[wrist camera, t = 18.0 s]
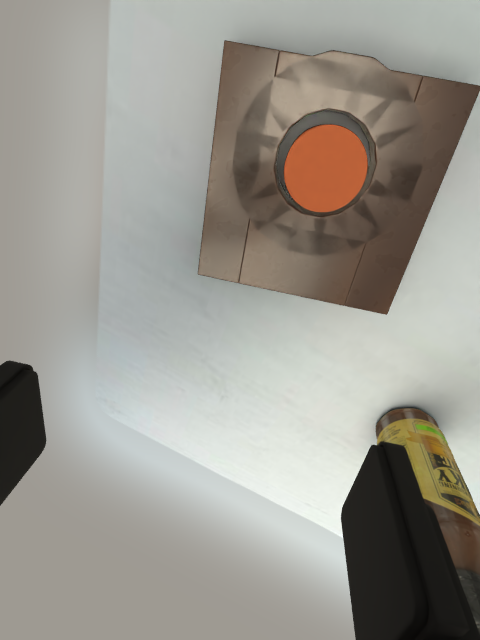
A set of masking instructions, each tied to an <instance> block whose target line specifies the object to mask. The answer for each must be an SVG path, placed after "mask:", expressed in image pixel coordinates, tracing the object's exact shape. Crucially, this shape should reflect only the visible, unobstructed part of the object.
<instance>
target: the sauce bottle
mask: <svg viewBox="0 0 480 640" xmlns="http://www.w3.org/2000/svg"><path fill="white" fill-rule="evenodd" d="M376 436H377V445H378V443H379V442H380V441H385V442H389V443H394V444H399V445H403V446H404V447H405V448H406V450H407V453H408V456H409V459H410V462H411V464H412V467H413V470H414V473H415V476H416V479H417V481H418V484H419V487H420V490H421V493H422V496H423V499H424V501H425V503H426V504H429V505H430V506H431V507H432V509H433V510H434V512H435V514H436V517H437V520H438V522H439V525H440V528H441V530H442V533H443V536H444V539H445V541H446V544H447V547H448V549H449V552H450V555H451V557H452V560H453V563H454V566H455V568H456V571H457V574H458V576H459V579H460V582H461V585H462V587H463V590H464V593H465V595H466V598H467V601H468V603H469V606H470V609H471V612H472V614H473V617H474V620H475V622H476V625H477V628H478V631H479V633H480V515H479V513H478V511H477V508H476V506H475V504H474V502H473V499H472V497H471V494H470V492H469V490H468V487H467V485H466V483H465V481H464V479H463V477H462V475H461V472H460V470H459V468H458V466H457V464H456V462H455V459H454V457H453V454H452V452H451V450H450V448H449V446H448V444H447V441H446V439H445V437H444V435H443V433H442V431H441V430H440V429H439V427H438V425H437V423H436V421H435V420H434V419H433V418H432V417H430V416H429V415H428V414H426V413H424V412H423V411H421V410H419V409H414V408H402V409H395V410H392V411H390V412H388V413H387V414H385V415H384V416H383V417H382V418H381V419H380V421H378V423H377V425H376Z"/></svg>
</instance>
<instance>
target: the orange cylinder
mask: <svg viewBox="0 0 480 640" xmlns="http://www.w3.org/2000/svg"><path fill="white" fill-rule="evenodd" d="M367 168H368V160H367V154H366V151H365V148H364V146H363V144H362V142H361V141H360V139H359V138H358V137H357V136H356V135H355V134H354V133H353V132H352V131H350V130H349V129H347V128H345V127H342V126H338V125H332V124H330V125H318V126H314V127H312V128H310V129H308V130H306V131H304V132H303V133H302V134H301V135H300V136H299V137H298V138H297V139H296V140H295V142H294V143H293V145H292V146H291V148H290V150H289V152H288V155H287V157H286V161H285V166H284V179H285V184H286V187H287V190H288V192H289V194H290V195H291V197H292V198H293V199H294V200H295V201H296V202H297V203H298V204H299V205H300V206H302V207H304V208H305V209H308V210H310V211H314V212H330V211H334V210H337V209H339V208H341V207H343V206H345V205H346V204H348V203H349V202H350V201H351V200H352V199H354V197H355V196H356V195H357V194H358V192H359V191H360V190H361V188H362V186H363V184H364V181H365V179H366V175H367Z"/></svg>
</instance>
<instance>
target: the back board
mask: <svg viewBox="0 0 480 640" xmlns="http://www.w3.org/2000/svg"><path fill="white" fill-rule="evenodd" d="M479 91H480V86H478V85H473V84H467V83H461V82H456V81H450V80H445V79H439V78H433V77H428V76H422V75H416V74H411V73H405V72H400V71H394V70H389V69H388V68H387V67H385V66H384V65H383V64H382V63H380V62H379V61H378V60H377V59H375V58H373V57H369V56H363V55H358V54H352V53H346V52H341V51H335V50H331V51H327V52H324V53H321V54H317V55H314V56H310V55H304V54H298V53H293V52H287V51H282V50H280V51H279V50H276V49H270V48H265V47H259V46H254V45H248V44H242V43H237V42H231V41H224V49H223V58H222V67H221V75H220V84H219V93H218V102H217V110H216V119H215V128H214V137H213V145H212V154H211V163H210V171H209V180H208V189H207V198H206V206H205V215H204V224H203V233H202V241H201V250H200V259H199V268H198V275H203V276H208V277H212V278H217V279H222V280H227V281H231V282H236V283H240V284H245V285H250V286H254V287H259V288H264V289H269V290H273V291H278V292H283V293H287V294H292V295H297V296H301V297H306V298H311V299H315V300H320V301H325V302H329V303H334V304H339V305H343V306H344V305H345V306H348V307H353V308H358V309H362V310H367V311H372V312H377V313H381V314H386V315H387V313H388V311H389V308H390V306H391V304H392V301H393V299H394V296H395V294H396V292H397V289H398V287H399V284H400V282H401V280H402V277H403V275H404V272H405V270H406V267H407V265H408V263H409V260H410V258H411V255H412V253H413V251H414V248H415V246H416V243H417V241H418V238H419V236H420V234H421V231H422V229H423V226H424V224H425V222H426V219H427V217H428V214H429V212H430V209H431V207H432V205H433V202H434V200H435V197H436V195H437V193H438V190H439V188H440V185H441V183H442V180H443V178H444V176H445V173H446V171H447V168H448V166H449V164H450V161H451V159H452V156H453V154H454V151H455V149H456V147H457V144H458V142H459V139H460V137H461V135H462V132H463V130H464V127H465V125H466V123H467V120H468V118H469V115H470V113H471V110H472V108H473V106H474V103H475V101H476V98H477V96H478V94H479ZM325 110H328V111H333V112H338V113H344V114H346V115H347V116H349V117H350V118H351V119H353V120H354V121H355V122H357V123H358V124H359V125H360V126H361V128H362V130H363V132H364V134H365V136H366V138H367V140H368V142H369V151H370V164H369V168H368V171H367V175H366V179H365V181H364V184H363V186H362V188H361V190H360V191H359V192H358V194H357V195H356V196H355V197H354V199H352V200H351V201H350V202H349V203H348V204H346V205H345V206H343V207H341V208H339V209H337V210H334V211H330V212H314V211H310V210H308V209H305V208H304V207H302V206H300V205H299V204H297V203H296V202H295V201H293V200H292V199H290V198H289V197H288V196H287V194H286V192H285V191H284V189H283V187H282V186H281V184H280V183H279V177H278V172H277V166H276V163H277V158H278V153H279V148H280V144H281V143H282V141H283V139H284V138H285V136H286V134H287V133H288V131H289V129H290V128H291V127H292V126H293V125H295V124H296V123H297V122H299V121H300V120H301V119H302V118H304V117H305V116H306V115H309V114H313V113H317V112H321V111H325Z"/></svg>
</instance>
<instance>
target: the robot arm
mask: <svg viewBox="0 0 480 640" xmlns="http://www.w3.org/2000/svg"><path fill="white" fill-rule="evenodd" d="M40 397H41V396H40V389H39V382H38V375H37V373H36V372H34V371H33V368H32V366H30V365H28V364H23V363H18V362H14V361H6V362H5V363H3V364H2V365H0V505H1V504H2V503H3V501H4V500H5V499H6V498H7V496H8V495H9V494H10V493H11V491H12V490H13V489H14V487H15V486H16V485H17V484H18V482H19V481H20V480H21V479H22V477H23V476H24V474H25V473H26V472H27V471H28V470H29V468H30V467H31V466H32V465H33V463H34V462H35V461H36V459H37V458H38V457H39V456H40V454H41V453H42V451H43V450H44V448H45V444H46V434H45V427H44V419H43V412H42V404H41V398H40ZM341 522H342V530H343V539H344V547H345V555H346V563H347V571H348V580H349V587H350V596H351V604H352V612H353V621H354V629H355V637H356V640H480V633H479V631H478V628H477V625H476V622H475V620H474V617H473V614H472V612H471V609H470V606H469V603H468V601H467V598H466V595H465V593H464V590H463V587H462V585H461V582H460V579H459V576H458V574H457V571H456V568H455V566H454V563H453V560H452V557H451V555H450V552H449V549H448V547H447V544H446V541H445V539H444V536H443V533H442V530H441V528H440V525H439V522H438V520H437V517H436V514H435V512H434V510H433V509H432V507H431V506H430V505H429V504H426V503H425V501H424V499H423V496H422V493H421V490H420V487H419V484H418V481H417V479H416V476H415V473H414V470H413V467H412V464H411V462H410V459H409V456H408V453H407V450H406V448H405V447H404V446H403V445H399V444H394V443H389V442H385V441H380V442H379V443H378V445H372V446H371V447H370V449H369V451H368V454H367V456H366V458H365V460H364V462H363V464H362V466H361V469H360V471H359V473H358V475H357V477H356V479H355V481H354V483H353V486H352V488H351V490H350V492H349V494H348V496H347V498H346V501H345V503H344V505H343V507H342V513H341Z"/></svg>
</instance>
